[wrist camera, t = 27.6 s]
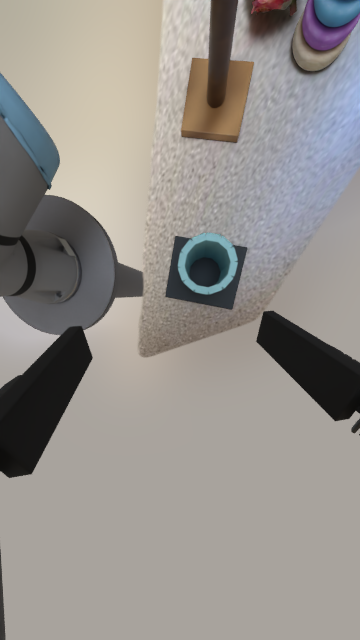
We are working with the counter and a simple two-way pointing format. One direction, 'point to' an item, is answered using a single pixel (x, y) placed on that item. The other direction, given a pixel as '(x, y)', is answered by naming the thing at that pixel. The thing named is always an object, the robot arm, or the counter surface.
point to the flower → (274, 5)
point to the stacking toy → (324, 32)
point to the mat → (203, 278)
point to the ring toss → (217, 82)
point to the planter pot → (208, 248)
